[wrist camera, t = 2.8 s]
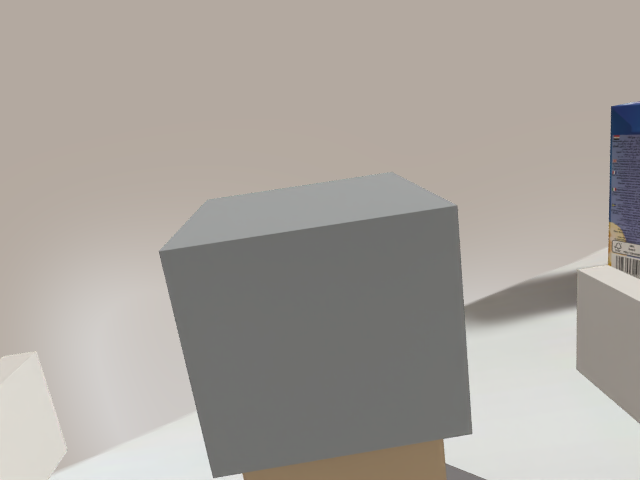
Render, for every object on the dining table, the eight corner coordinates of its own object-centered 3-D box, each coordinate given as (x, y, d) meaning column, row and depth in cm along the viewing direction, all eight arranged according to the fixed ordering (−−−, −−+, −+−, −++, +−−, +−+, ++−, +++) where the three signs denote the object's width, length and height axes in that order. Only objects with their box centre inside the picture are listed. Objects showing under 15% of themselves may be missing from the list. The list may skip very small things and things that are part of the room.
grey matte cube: (407, 323, 28) (391, 172, 25) (472, 433, 18) (457, 205, 16) (238, 351, 27) (207, 199, 25) (213, 478, 18) (158, 251, 15)
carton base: (415, 516, 30) (386, 244, 26) (461, 658, 22) (431, 301, 18) (288, 538, 30) (235, 267, 25) (290, 690, 22) (212, 336, 17)
